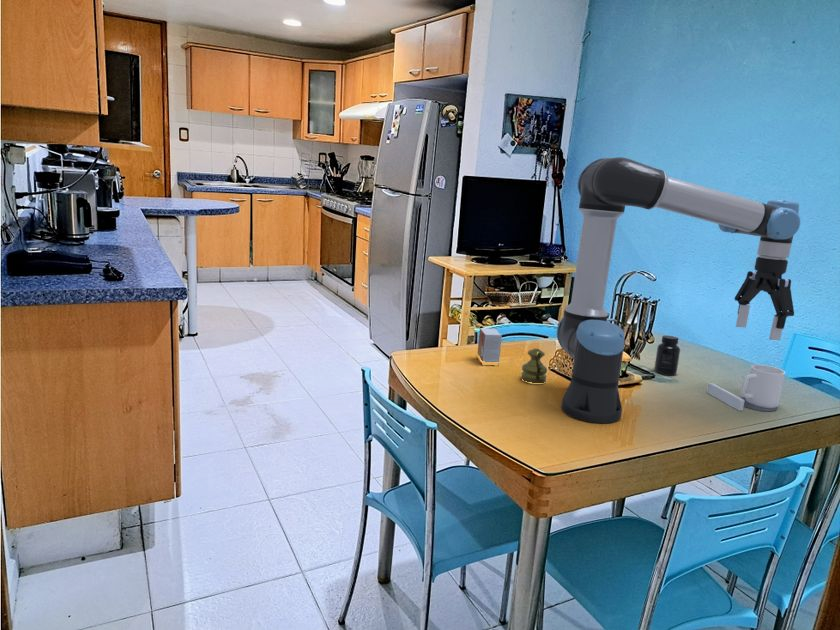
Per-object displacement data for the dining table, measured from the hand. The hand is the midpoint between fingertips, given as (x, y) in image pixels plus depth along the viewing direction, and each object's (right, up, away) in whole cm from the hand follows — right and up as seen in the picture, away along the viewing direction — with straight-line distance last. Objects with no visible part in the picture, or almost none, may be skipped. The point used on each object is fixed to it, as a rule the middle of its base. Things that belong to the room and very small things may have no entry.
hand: (757, 333), depth 164 cm
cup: (+1, -20, +2) cm, 20 cm away
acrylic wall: (-8, -19, +3) cm, 21 cm away
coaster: (+1, -20, +2) cm, 20 cm away
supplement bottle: (-15, -14, +27) cm, 34 cm away
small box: (-72, -11, +27) cm, 78 cm away
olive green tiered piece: (-61, -15, +11) cm, 63 cm away
